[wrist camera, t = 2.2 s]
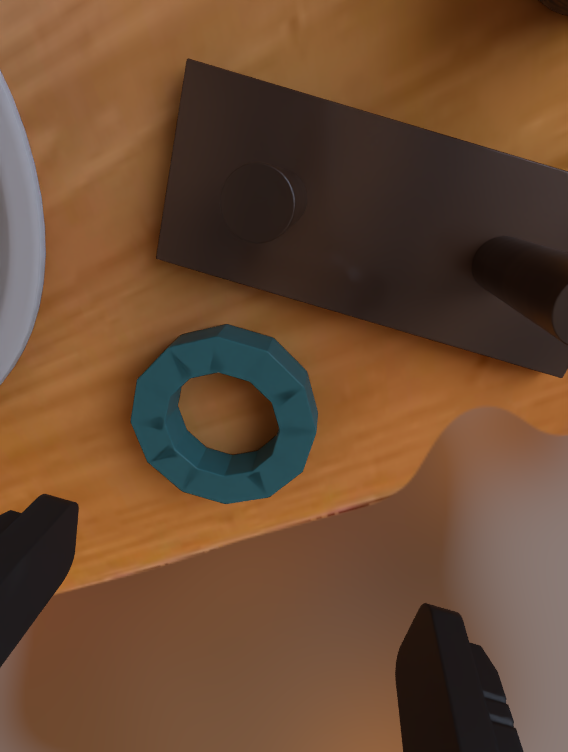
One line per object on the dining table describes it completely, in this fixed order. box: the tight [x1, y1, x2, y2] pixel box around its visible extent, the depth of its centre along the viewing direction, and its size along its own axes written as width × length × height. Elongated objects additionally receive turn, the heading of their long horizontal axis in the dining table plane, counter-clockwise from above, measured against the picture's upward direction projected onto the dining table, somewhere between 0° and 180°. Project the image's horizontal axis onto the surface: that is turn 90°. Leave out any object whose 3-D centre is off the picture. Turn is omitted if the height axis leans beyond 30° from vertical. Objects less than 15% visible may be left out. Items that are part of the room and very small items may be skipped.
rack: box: [156, 59, 568, 378], centre depth 19 cm, size 22×9×10 cm, turn 74°
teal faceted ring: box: [131, 324, 318, 504], centre depth 27 cm, size 10×10×2 cm
